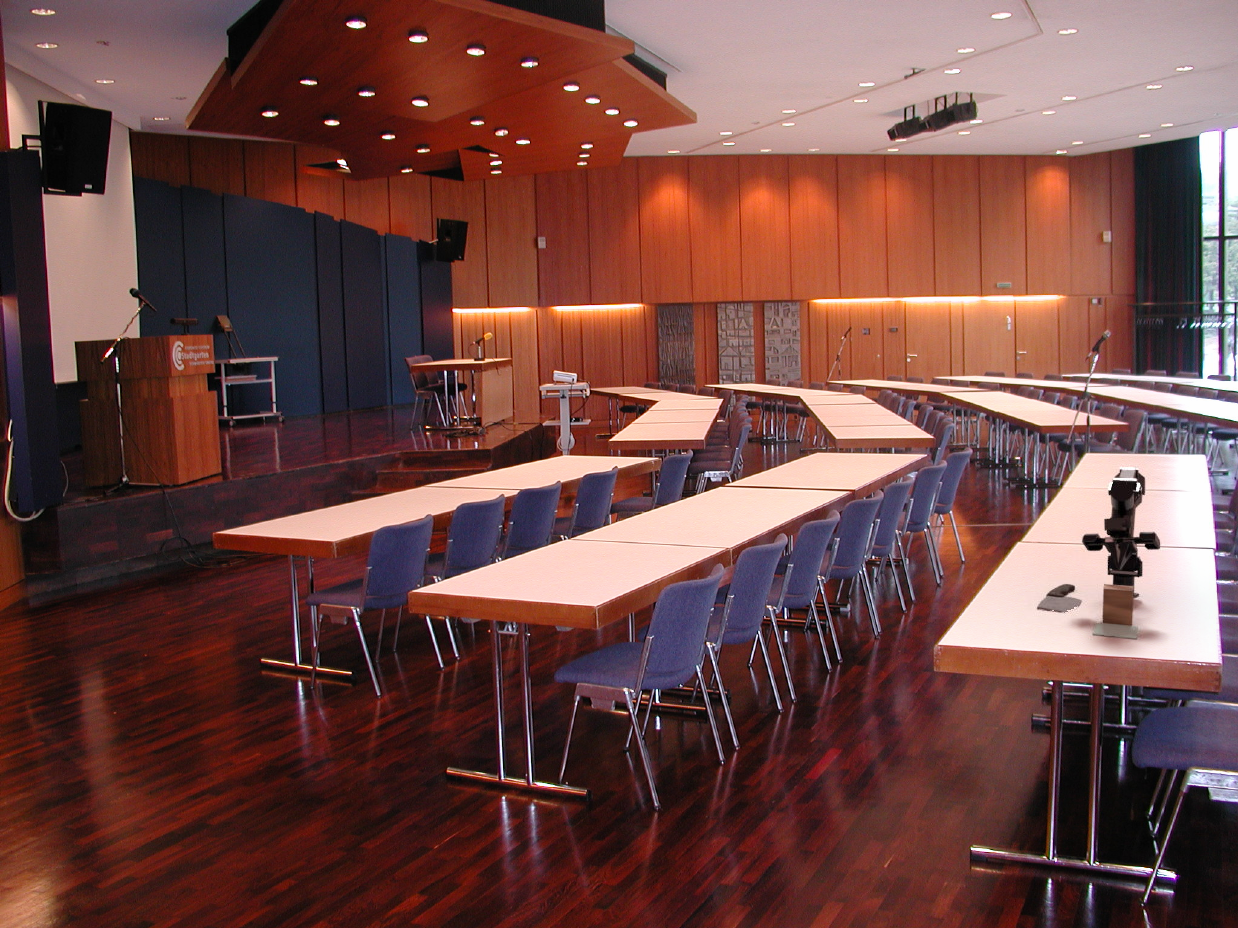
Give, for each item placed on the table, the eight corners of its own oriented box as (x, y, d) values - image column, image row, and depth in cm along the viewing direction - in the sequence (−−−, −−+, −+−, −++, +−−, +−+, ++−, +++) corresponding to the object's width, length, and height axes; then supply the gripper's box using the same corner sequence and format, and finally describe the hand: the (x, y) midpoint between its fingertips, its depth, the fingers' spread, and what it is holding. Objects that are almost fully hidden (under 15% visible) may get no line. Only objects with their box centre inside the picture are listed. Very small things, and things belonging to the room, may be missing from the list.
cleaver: (1056, 588, 316) (1056, 582, 316) (1091, 592, 310) (1091, 585, 310) (1034, 611, 291) (1035, 604, 291) (1072, 616, 286) (1072, 608, 286)
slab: (1103, 620, 279) (1104, 583, 277) (1132, 623, 275) (1133, 586, 274) (1102, 623, 276) (1103, 586, 275) (1131, 626, 273) (1133, 588, 272)
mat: (1096, 623, 276) (1096, 622, 276) (1138, 627, 271) (1138, 626, 271) (1092, 634, 265) (1092, 633, 265) (1136, 639, 261) (1136, 638, 260)
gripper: (1078, 506, 290) (1073, 556, 283) (1151, 503, 278) (1148, 555, 271) (1090, 525, 297) (1085, 574, 291) (1162, 522, 285) (1159, 574, 279)
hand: (1118, 569), depth 283 cm, fingers closed
